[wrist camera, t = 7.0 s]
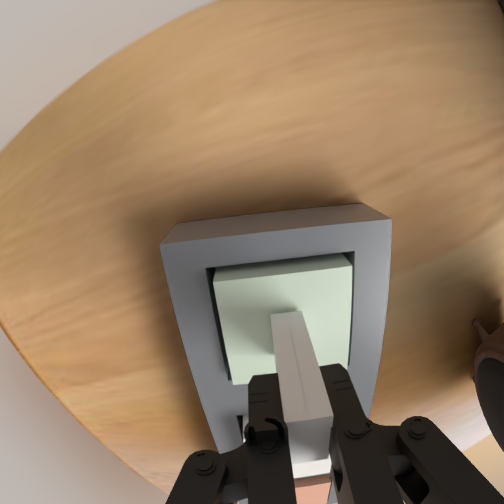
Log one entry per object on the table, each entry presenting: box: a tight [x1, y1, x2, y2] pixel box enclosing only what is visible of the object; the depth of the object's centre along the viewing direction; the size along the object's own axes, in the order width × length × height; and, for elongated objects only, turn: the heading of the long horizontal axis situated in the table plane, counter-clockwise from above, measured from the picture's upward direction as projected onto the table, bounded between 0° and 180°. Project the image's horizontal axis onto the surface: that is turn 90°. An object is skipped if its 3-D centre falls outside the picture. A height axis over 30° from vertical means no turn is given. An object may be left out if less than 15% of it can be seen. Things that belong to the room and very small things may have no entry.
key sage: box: [213, 252, 352, 385], centre depth 16 cm, size 6×6×3 cm
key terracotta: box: [294, 474, 331, 504], centre depth 23 cm, size 6×6×3 cm
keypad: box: [159, 203, 392, 504], centre depth 21 cm, size 11×31×4 cm, turn 6°
